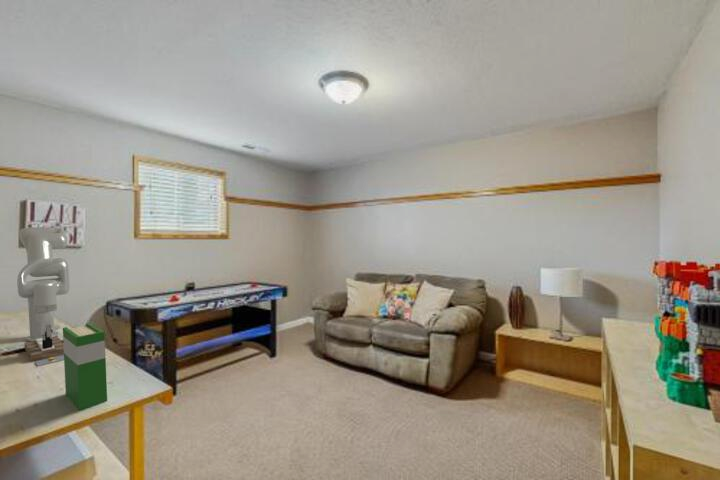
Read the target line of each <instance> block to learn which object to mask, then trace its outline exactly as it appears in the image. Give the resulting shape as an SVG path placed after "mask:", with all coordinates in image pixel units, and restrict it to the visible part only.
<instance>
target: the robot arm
mask: <svg viewBox="0 0 720 480" xmlns="http://www.w3.org/2000/svg"><path fill="white" fill-rule="evenodd" d="M18 236H19V239H20V242H21V244H22V246H23V247H24V248H25V251H26V257H27V264H26V265H24V267H22V268H21V270H20V271H19V273H18V275H17V282H16V283H17V292H18V293H17V294H18V296H19V297H21V298H22V299H27V306H28V322H29V324H28V325H29V336H26V338H25V340H26V342H30V341H35V340H36V339H40V338H43V340H42V346H43V349H46V348H51V347H52V337H56V336H57V337H58V336H59V332H58V331H57V330H60V329H61V326H60V325H56V326H55V315H54V314H55V313H54V312H57V311H58V308H57V296H63V295H66V294H68V293H69V291H70V275H69V274H70V273H69V266H68V261H67V260H66V259H65V258H63V257H62V258H53V250H63V249H65V248H66V247H67V245H68V238H67V235H66V232H65V230H64V228H62V227H57V226H53V227H51V226H49V227H48V226H47V227H43V226H38V227H36V226H35V227H33V226H32V227H31V226H30V227H25V228H24V227H23V228H21V229H20V230H19V232H18ZM28 275H29V276H30V277H32V278H39V279H34V280H30V281H26V278H27V276H28ZM54 276H55V278H54ZM42 277H53V278H42ZM40 278H41V279H40Z"/></svg>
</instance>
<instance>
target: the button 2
mask: <svg viewBox="0 0 720 480" xmlns="http://www.w3.org/2000/svg"><path fill="white" fill-rule="evenodd" d="M54 348H55V347H54V346H53V345H52V347H51V348H46V349H43V347H42V348H40V350H41V351H45V350H49V349H54Z"/></svg>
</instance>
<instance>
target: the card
mask: <svg viewBox="0 0 720 480" xmlns="http://www.w3.org/2000/svg"><path fill="white" fill-rule="evenodd" d="M62 361H64V355H61V356H56V357H51V358H47V359H43V360H39V361H34V363H35V365H36V366H37V367H41V366H44V365H49V364H54V363H58V362H62Z"/></svg>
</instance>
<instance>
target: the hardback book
mask: <svg viewBox="0 0 720 480" xmlns="http://www.w3.org/2000/svg"><path fill="white" fill-rule="evenodd" d="M105 334H106V333H105V331H104V330H103V329H101V328H99V327H97V326H95V325H94V324H92V323H90V322H87V323H86V322H85V325H82V326H77V327H73V328H72V327H71V328H68V327H67V326H64V327H62V340H63V341H62V342H63V345H64V360H63V363H64V367H63V368H64V383H65V386H64V387H65V395H66V397H67V398H68V399H69V401H71V403H72V404H73V405H74V406H75V407H76V408H77V410H78V411H80V412H81V411H83V410H86V409H89V408H92V407H94V406H97V405H100V404H103V403H106V402H108V385H107V363H106V362H107V361H106V359H107V357H106V340H105V338H106V337H105Z"/></svg>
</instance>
